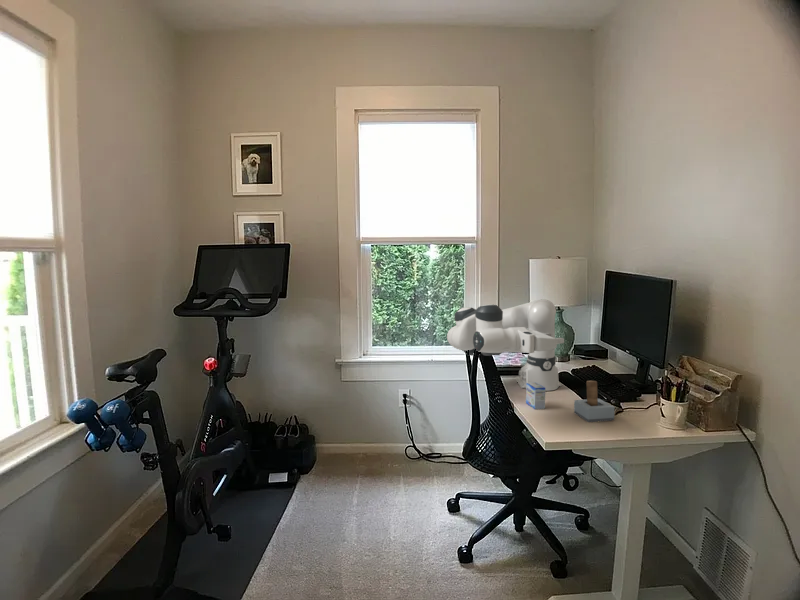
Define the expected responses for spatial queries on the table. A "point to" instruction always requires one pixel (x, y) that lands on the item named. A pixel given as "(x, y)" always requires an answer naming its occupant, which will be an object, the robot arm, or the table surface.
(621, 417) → the table surface
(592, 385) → the dowel
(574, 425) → the table surface
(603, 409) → the socket block
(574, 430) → the table surface
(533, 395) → the medicine box
